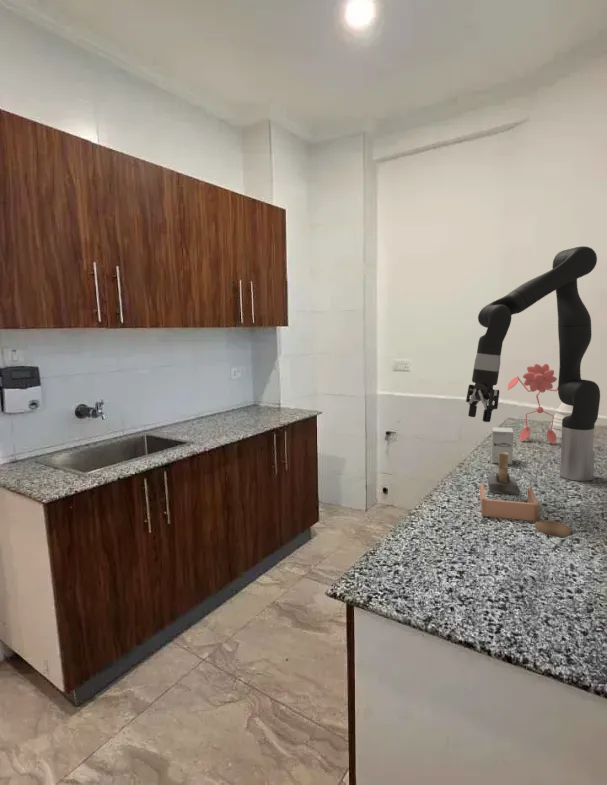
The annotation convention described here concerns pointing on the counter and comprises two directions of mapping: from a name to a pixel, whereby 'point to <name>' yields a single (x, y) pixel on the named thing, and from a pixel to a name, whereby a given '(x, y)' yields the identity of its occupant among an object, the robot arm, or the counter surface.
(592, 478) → the robot arm
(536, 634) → the counter surface
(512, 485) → the mounted wooden block
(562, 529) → the lid
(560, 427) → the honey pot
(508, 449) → the supplement box
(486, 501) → the three-sided wooden frame
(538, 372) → the figurine
